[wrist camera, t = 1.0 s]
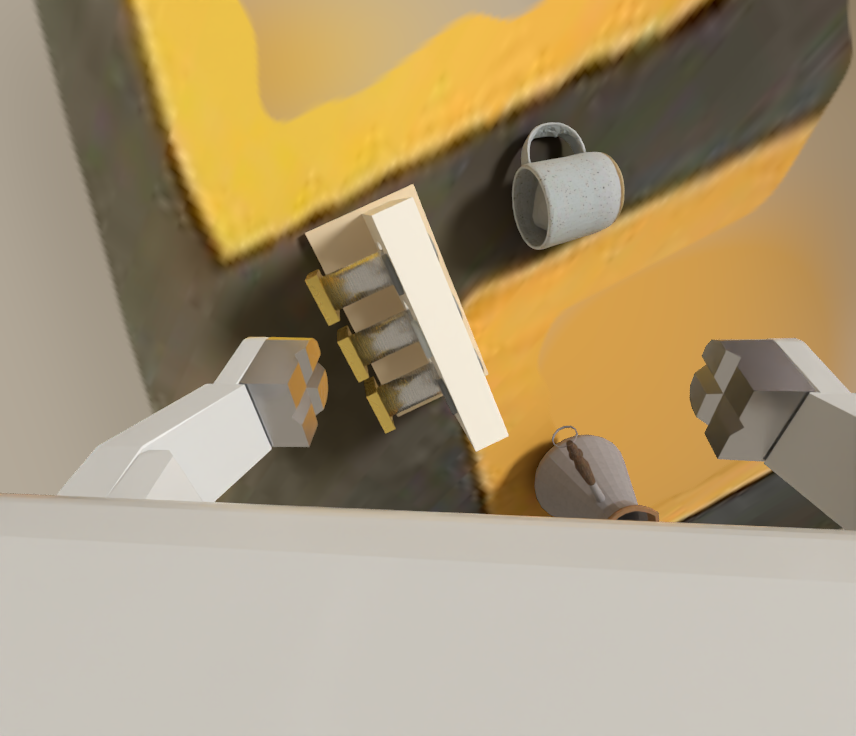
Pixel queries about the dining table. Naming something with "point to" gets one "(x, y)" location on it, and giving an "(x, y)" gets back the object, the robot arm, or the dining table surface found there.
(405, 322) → the middle rod
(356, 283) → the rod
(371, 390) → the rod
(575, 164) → the ceramic mug
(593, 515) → the coffee pot
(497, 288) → the dining table surface
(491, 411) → the panel
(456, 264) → the dining table surface
